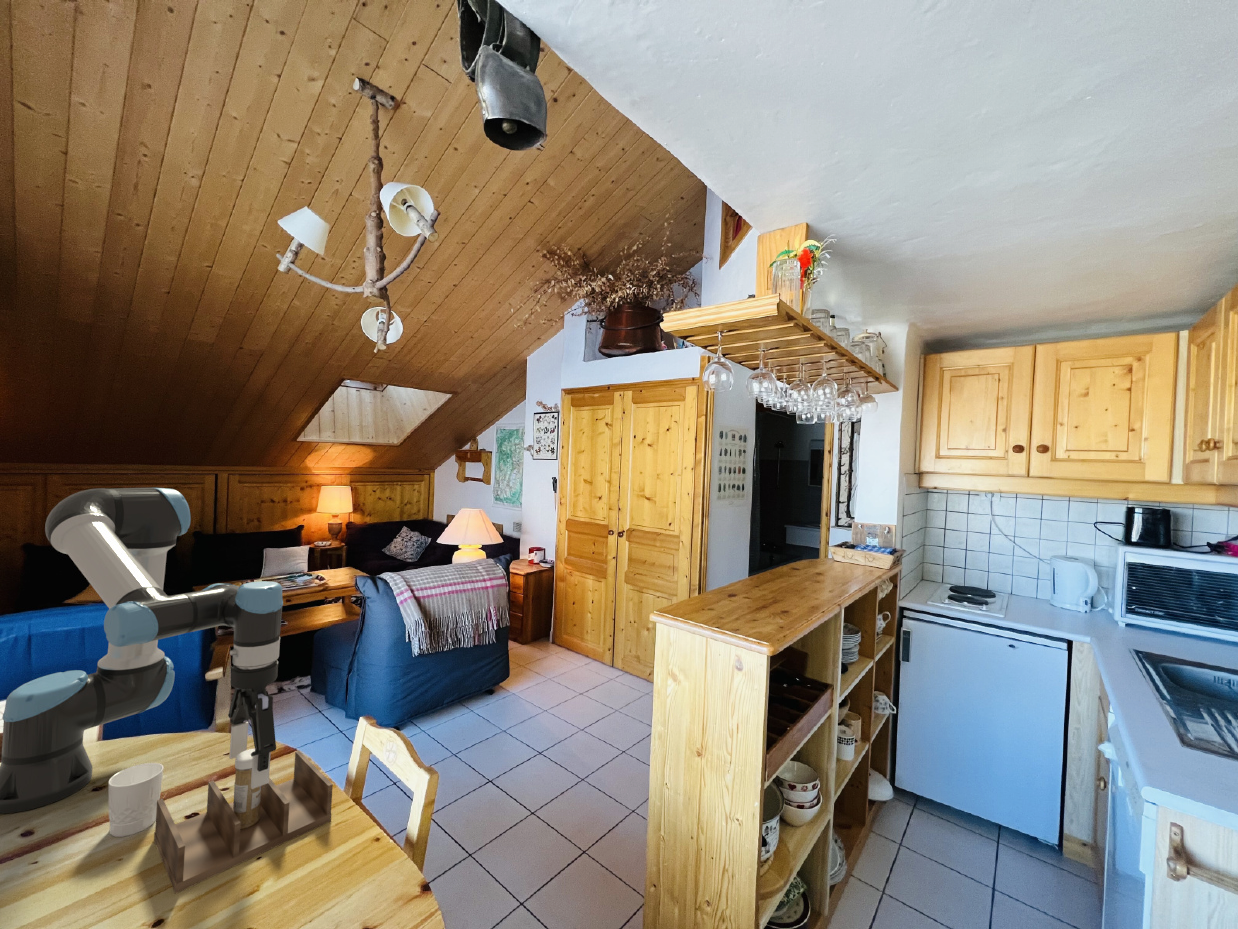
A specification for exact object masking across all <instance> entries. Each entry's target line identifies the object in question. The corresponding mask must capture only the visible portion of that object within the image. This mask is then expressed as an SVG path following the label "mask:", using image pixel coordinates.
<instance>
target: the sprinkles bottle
mask: <svg viewBox="0 0 1238 929" xmlns="http://www.w3.org/2000/svg"><path fill="white" fill-rule="evenodd" d="M254 751H255V748H250V749H247V750H246V751H243V752H241V753H240V754H238V755H237V756H236V758H234V759H235V760H234V768H235V779H234V787H233V788H234V791H233V802H234V805H233V810H234V813H235V814H236V816H237V818H238V819H239V821H240V822H241V826H240V829H244V828H248V827H250V826H252V825H254V824H255V823H256V822H258V820H259V818H260V800H261V786H259V787H256V788H254V789H251V774H252V759H253V756H251V753H252V752H254Z"/></svg>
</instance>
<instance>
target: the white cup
mask: <svg viewBox="0 0 1238 929" xmlns="http://www.w3.org/2000/svg"><path fill="white" fill-rule="evenodd" d="M163 772H164V765H163V764H161V763H159V762H145V763H140V764H135V765H133V766H130V767H127V768H124V769H122V770H119V771H117V773H115V774H114V775H112V776H111V777H110V778H109V780H108V782H107V783H108V788H107V789H108V795H107V796H108V801H107V802H108V806H107V807H108V820H109V834H110V835H111V836H112V837H127V836H128V837H129V836H131V835H135V834H137V833H140V832H142V831H145V830H146V829H148V828H149V827H151V826H152V825H153V824H154V823H156V810H157V800H159V799H161V792H162V783H163V776H164V775H163Z"/></svg>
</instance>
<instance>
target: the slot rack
mask: <svg viewBox="0 0 1238 929" xmlns="http://www.w3.org/2000/svg"><path fill="white" fill-rule="evenodd" d="M293 768H294V769H293V778H292V779H289V780H287V781H284V782H282V783H278V784H277V785H276V784H275V783H274V781H273V780H272V779H271V778H270V777H269V783H267V784H264V785H262V786H261V800H260V818H259V820H258V822H256V823H255V824H254V825H252V826H250V827H248V828H244V829H240V826H241V822H240V821H239V819H238V818H237V816H236V814H235V813H234V810H233V805H234V801H232V802H228V800H227V799H226V798H225V796H224V794H223V793H222V791H221V790H220V788H219V787H218V785H217V784H216V782H215V781H214V780H211V781H208V783H207V784H208V786H207V800H206V801H207V802H206V803H207V804H206V811H205V812H203V813H201V814H198V815H196V816H194V817H191V818H188V819H185V820H183V821H180V822H177V823H175V822H174V820H173V817H172V815H171V813H170V811H169V808H168V807H167V804H166V803H165V801H164V799H163V798H160V799H159V800H157V810H156V821H155V830H154V834H153V835H154V836H153V841H154V844H155V847H156V849H157V851H158V854H159V856H160V859H161V862H162V864H163V866H164V869H165V872H166V873H167V876H168V879H169V881H170V884H171V886H172V888H173V892H174V894H175V895H177V894H178V893H180V892H182V891H185V890H186V889H188V888H190V887H193V886H195V885H197V884H199V883H202V882H203V881H206V880H208V879H210V878H212V877H214V876H216V875H219V874H221V873H223V872H225V871H227V870H229V869H232V868H233V867H236V866H238V865H240V864H242V863H244V862H247V861H249V860H251V859H253V858H255V857H257V856H259V855H261V854H263V853H266V852H268V851H270V850H273V849H274V848H277V847H278V846H281V845H282V844H285V843H288V842H289V841H292V840H293V839H296V838H297V837H300V836H302V835H305V834H306V833H309V832H310V831H313V830H316V829H317V828H320V827H323V825H325V824H328V823H330V822H332V803H333V800H332V799H333V787H334V784H333V783H332V782H331V781H330V779H328V778H327V777H326V776H325V774H324V773H323V772H321V771H320V770H319V768H317V767H316V765H314V764H313V763H312V762H311V761H310V760H309V759H308V757H307V756H306V755H304V754H303V753H302V751H300V750H297V751H295V752H294V767H293Z"/></svg>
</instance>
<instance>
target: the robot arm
mask: <svg viewBox="0 0 1238 929" xmlns="http://www.w3.org/2000/svg"><path fill="white" fill-rule="evenodd" d="M191 517H192V516H191V511H190V506H189V503H188V502H187V500H186V498H185V497H184V495H183V494H182V493H181V492H179V491H178V490H176V489H174V488H164V487H128V488H127V487H125V488H124V487H122V488H119V487H118V488H117V487H116V488H105V487H104V488H102V487H101V488H90V489H85V490H80V491H77V492H75V493H73V494H71V495H69V496H67V497H65V498H64V499H62V500H61V501H59V502H58V503H57V504H56V505H55V506H54V507H53V508H52V509H51V511H50V512H49V514H48V516H47V517H46V521H45V528H44V531H45V536H46V538H47V540H48V541H49V543H50V545H51V546H52V548H54V549H55V550H56V551H57V552H60V553H62V554H66V555H68V556H69V558H70V559H71V560H72V561H73V563H74V565H75V566H76V567H77V568H78V570H79V571H80V572H81V574H82V575H83V576H84V578H86V580H87V582H88V583H89V584H90V586H91V587H92V588H93V590H95V592H96V593H97V594H98V596H99V597H100V599H101V600H102V601H103V603H104V604H105V605H106V606H107V608H108V610H107V612H106V614H105V616H104V620H103V629H104V633H105V635H106V636H105V638H106V640H107V642H108V648H107V654H105V655H104V656H102V658H100V659H99V660H98V661H97V666H96V672H93V673H90V674H87V672H86V671H84V670H78V669H77V670H76V669H74V670H66V671H64V672H61V671H59V672H55V673H51V674H47V675H44V676H40V677H38V678H36V679H33V680H30V681H28V682H26V683H23V684H22V685H20V686H18V687H17V688H16V689H14V690H12V691H11V692H10V693H9V695H7V697H6V699H5V706H4V711H3V714H2V720H3V727H2V743H1V758H0V759H1V761H0V814H13V813H14V814H15V813H20V812H26V811H30V810H33V809H37V808H42V807H44V806H47V805H50V804H52V803H56V802H58V801H61V800H62V799H65V798H68V797H69V796H71V795H73V794H75V793H76V792H78V791H80V790H81V789H83V788H84V787H85V786H86V785H88V783H90V781H92V778H93V764H92V762H91V759H90V757H89V754H88V753H87V750H86V748H85V746H84V732H85V731H86V730H89V729H93V728H94V727H97V726H102V725H105V724H107V723H111V722H114V721H117V720H120V719H123V718H127V717H130V716H133V715H136V714H137V715H138V714H141V713H143V712H145V711H147V710H150V709H153V708H156V707H158V706H160V705H161V704H163V702H165V701H166V700H167V698H168V697H169V696H170V693H171V692H172V690H173V686H174V682H175V676H176V675H175V670H174V669H175V668H174V663H173V661H172V660H171V659H170V658H169V657H168V656H166V655H165V651H163V650H162V649H160V648H159V647H158V644H159V643H158V642H159V640H163V639H167V638H171V637H175V636H180V635H184V634H187V633H192V632H193V633H194V632H197V631H201V630H207V629H210V628H211V629H212V628H215V627H219V626H220V627H221V626H226V627H230V628H232V629H234V630H233V641H232V642H233V649H231V650H230V651H229V655H230V656H232V664H233V666H232V667H231V672H230V686H231V687H233V688H234V690H233V695H232V699H231V703H230V706H229V711H228V714H227V715H228V716H227V717H228V719H230V724H231V728H230V729H231V731H230V744H229V759H230V760H233V759H236V756H237V755H238V754H240V753H241V752H243V751H246V750H248V737H249V736H248V733H249V721H250V725H251V732H252V738H253V739H252V740H253V744H254V749H255V751H254V752H252V753H251V756H253V759H252V774H251V789H254V788H256V787H259V786H262V785H264V784H267V783H269V778H270V770H271V769H270V768H271V756H272V754H271V753H272V752H275V751H276V750H277V742H276V733H275V732H276V731H275V720H274V710H273V705H274V704H273V702H274V696H273V695H272V694H271V695H269V691H268V690H267V687H268V686H269V685H270V684H272V683H274V682H275V681H276V680H277V678H278V672H279V669H278V668H279V661H278V659H279V657H280V645H281V644H280V643H281V635H280V634H281V626H282V614H283V606H284V600H283V586H282V585H281V583H279V582H276V581H268V580H267V581H266V580H265V581H264V580H262V581H261V580H260V581H251V582H246V583H243V584H241V585H240V586H238V585H235V584H232V583H219V582H218V583H213V584H210V585H209V586H207V587H205V588H203V589H201V590H199V591H198V590H196V591H192V592H185V593H179V594H173V595H168V594H166V592H165V591H164V583H165V575H166V565H167V564H166V563H167V554H168V551H169V550H171V549H172V548H173V547H175V546H177V545H176V544H177V538H178V537H179V536H180V537H181V536H182V535H184V534H186V533H187V532H188V531H189V530H188V529H189V528H190V526H191V520H192V519H191Z"/></svg>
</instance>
